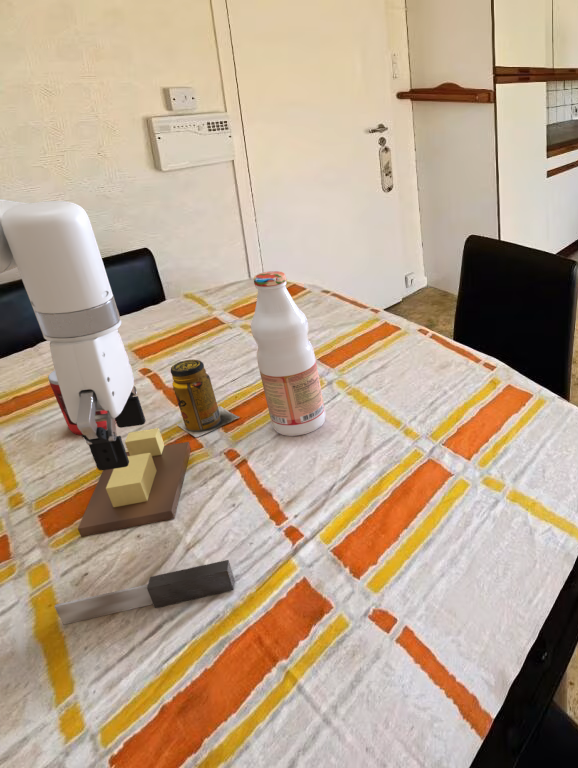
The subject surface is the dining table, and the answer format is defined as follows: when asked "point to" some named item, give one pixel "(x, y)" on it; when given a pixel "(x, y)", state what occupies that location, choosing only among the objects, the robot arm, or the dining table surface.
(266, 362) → the fruit juice
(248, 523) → the dining table surface
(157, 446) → the butter slice
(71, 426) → the canned food
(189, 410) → the condiment
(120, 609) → the knife
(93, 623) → the dining table surface
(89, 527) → the board
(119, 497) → the butter stick
